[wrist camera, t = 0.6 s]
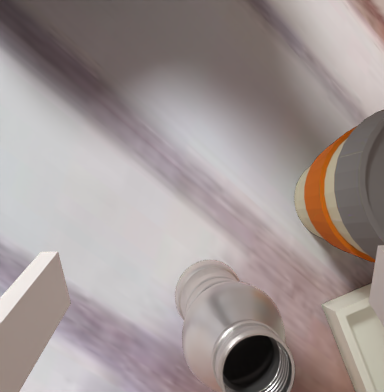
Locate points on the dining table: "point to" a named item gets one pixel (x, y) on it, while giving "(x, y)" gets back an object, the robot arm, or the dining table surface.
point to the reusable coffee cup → (347, 191)
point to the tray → (358, 338)
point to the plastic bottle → (232, 332)
